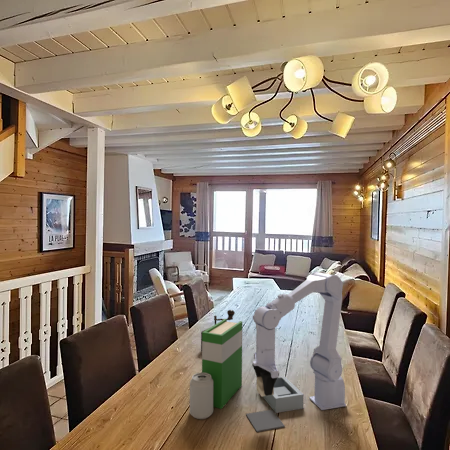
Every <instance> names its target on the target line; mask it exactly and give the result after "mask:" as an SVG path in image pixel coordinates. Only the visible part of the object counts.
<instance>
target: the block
mask: <svg viewBox="0 0 450 450" xmlns="http://www.w3.org/2000/svg"><path fill="white" fill-rule="evenodd" d="M256 392H257V393H258V394H259V395H260V397H261V398H263V396H265V394H264V388H263V381H262V378H261V377H257V376H256ZM272 395H274V388H273V392H272Z"/></svg>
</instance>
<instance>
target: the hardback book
mask: <svg viewBox="0 0 450 450" xmlns="http://www.w3.org/2000/svg"><path fill="white" fill-rule="evenodd" d="M223 319H224V320H220V321H219V322H216V324H215V323H214V324H213V325H212V326H210V327H208V328H209V329H208V328H206V329H207V330H206V329H204V330H205V331H204V330H203V331H204V332H202V331H201V332H202V351H201V373H208V374H210V375H211V378H212V379H213V408H217V409H221V410H222V409H223V408H224V407H225V406H226V404H227V403H228V402H229V401H230V400H231V399H232V397H233V396H234V395H235V394H236V393H237V392H238V391H239V390H240V388H241V387H242V385H243V321H242V320H241V321H238V322H232V321H228V320H227V318H223Z"/></svg>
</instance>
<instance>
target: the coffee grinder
mask: <svg viewBox="0 0 450 450" xmlns="http://www.w3.org/2000/svg"><path fill="white" fill-rule="evenodd" d="M226 314H227V318H226V319H227V321H232V320H233V319H234V316H235V311H234V310H233V309H229V310H227V312H226ZM213 317H214V318H213V321H214V325H215V324H217V322H218V321H219V322H220V321H222V320H224V319H225V318H217V315H216V314H215V315H214V316H213ZM209 328H210V327H208V328H206V329H204V330H202V331H201V332H200V351H201V352H202V332H204V331H205V330H207V329H209Z"/></svg>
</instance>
